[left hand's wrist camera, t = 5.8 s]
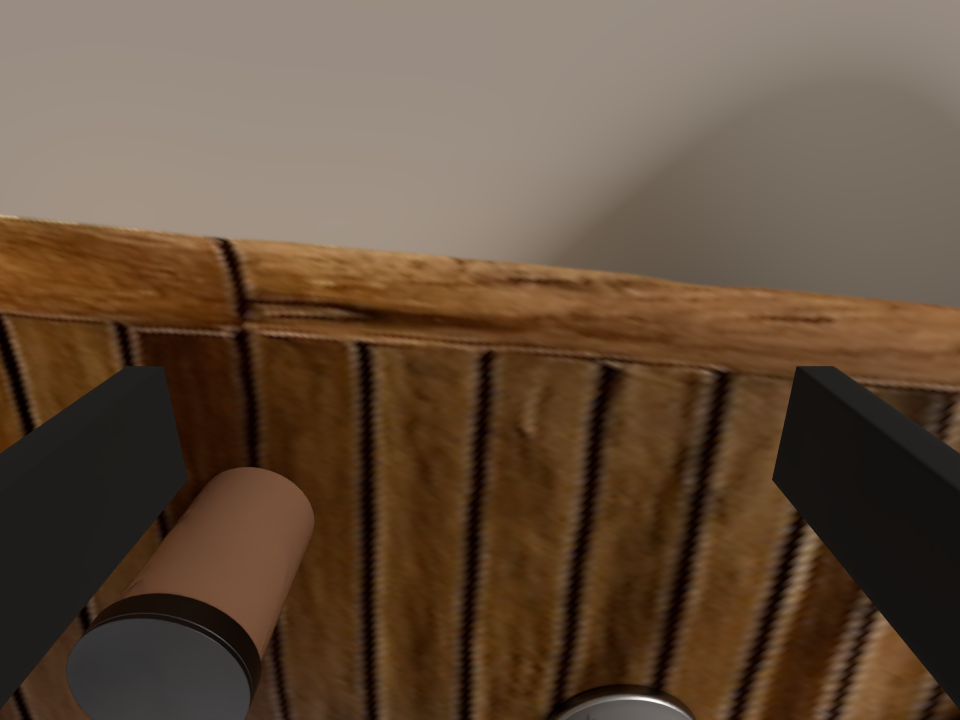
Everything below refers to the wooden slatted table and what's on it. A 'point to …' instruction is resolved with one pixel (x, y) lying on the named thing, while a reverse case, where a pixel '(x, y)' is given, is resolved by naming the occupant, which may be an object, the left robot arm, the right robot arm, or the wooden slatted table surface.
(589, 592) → the wooden slatted table surface
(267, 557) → the jar
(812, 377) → the left robot arm
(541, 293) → the wooden slatted table surface
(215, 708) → the lid
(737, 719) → the wooden slatted table surface
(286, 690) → the wooden slatted table surface
